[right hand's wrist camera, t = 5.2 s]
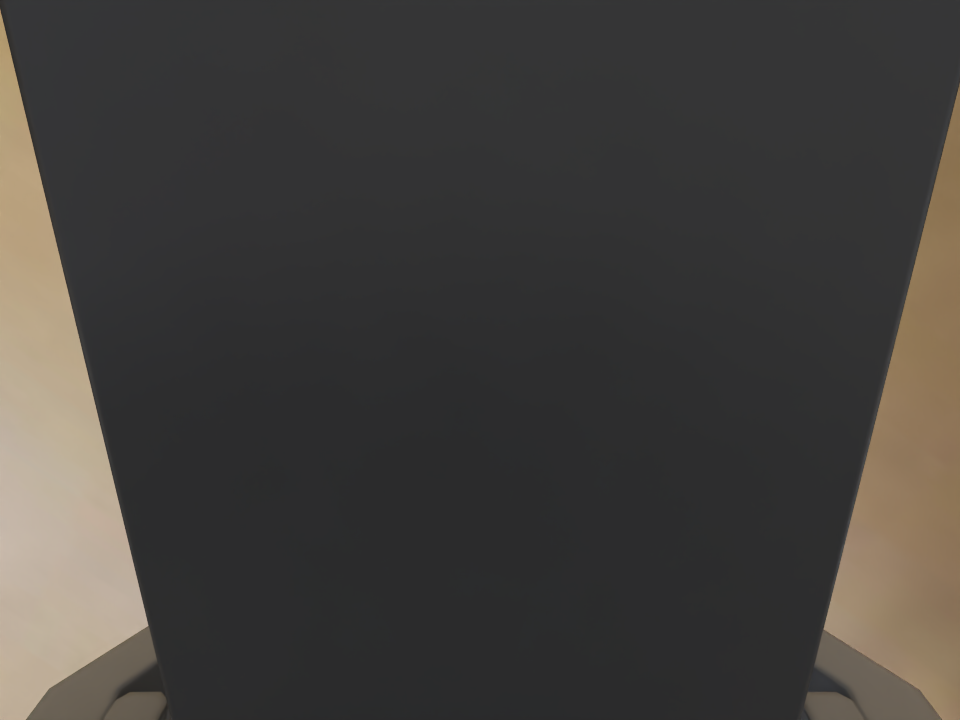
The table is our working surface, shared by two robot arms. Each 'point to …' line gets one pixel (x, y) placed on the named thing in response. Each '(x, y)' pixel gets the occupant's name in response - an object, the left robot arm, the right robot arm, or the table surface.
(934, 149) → the bar
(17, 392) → the table surface
